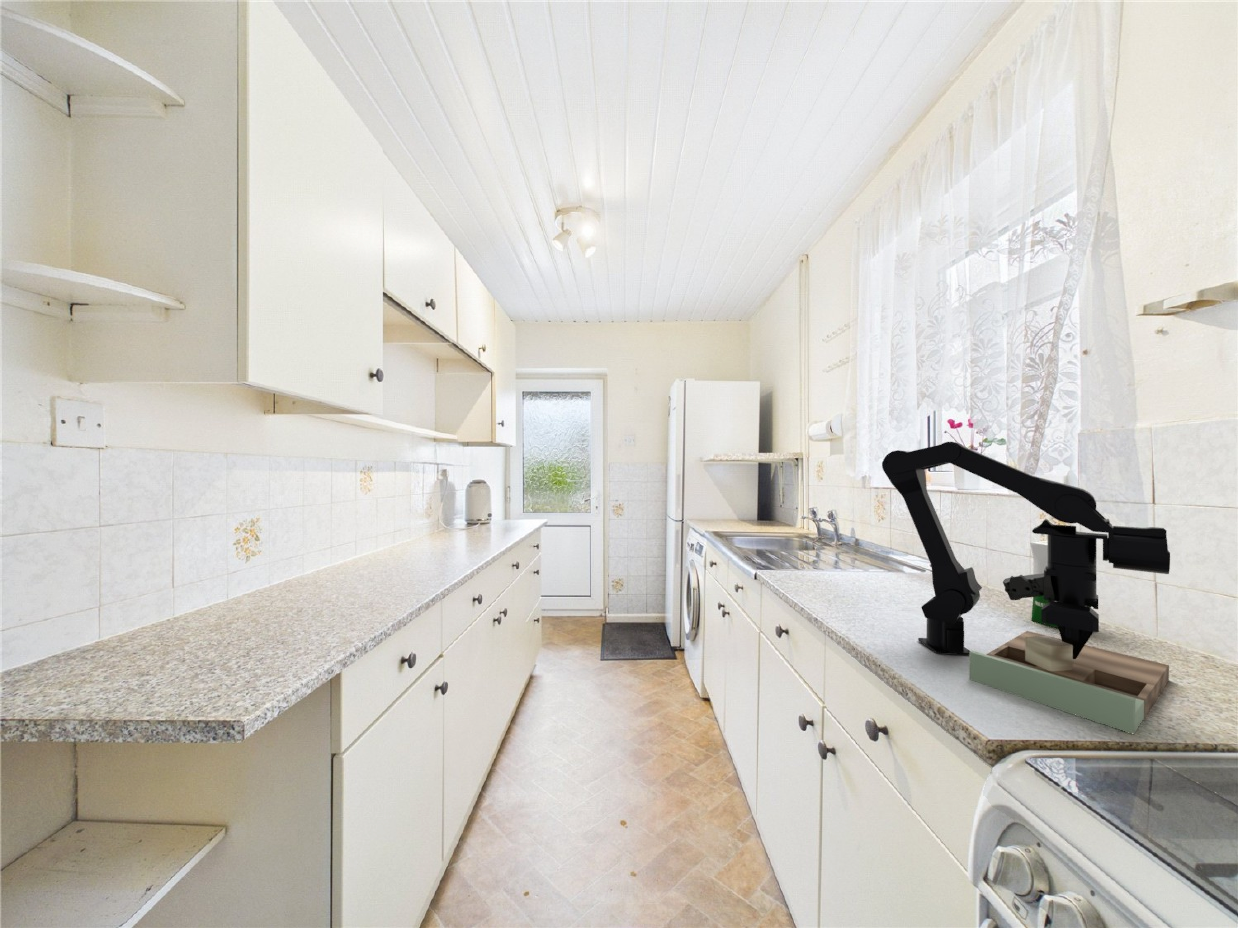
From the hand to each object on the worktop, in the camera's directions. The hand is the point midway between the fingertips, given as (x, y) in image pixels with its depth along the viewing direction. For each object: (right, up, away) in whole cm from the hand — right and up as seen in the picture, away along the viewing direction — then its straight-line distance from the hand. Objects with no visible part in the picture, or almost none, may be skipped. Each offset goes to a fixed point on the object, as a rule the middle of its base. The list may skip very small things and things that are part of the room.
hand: (1071, 657), depth 75 cm
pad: (-9, -4, -6) cm, 11 cm away
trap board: (+3, -4, +2) cm, 5 cm away
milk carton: (+24, -4, +26) cm, 36 cm away
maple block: (-4, -1, 0) cm, 4 cm away
